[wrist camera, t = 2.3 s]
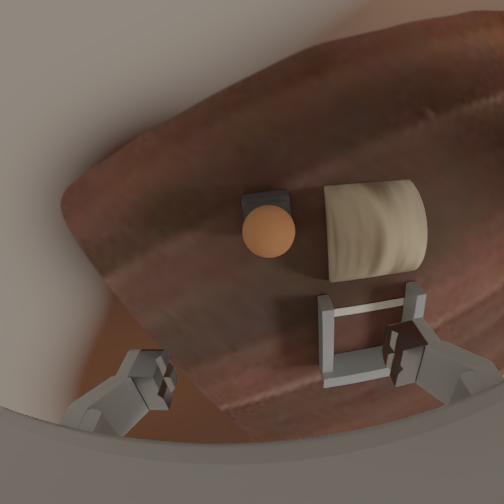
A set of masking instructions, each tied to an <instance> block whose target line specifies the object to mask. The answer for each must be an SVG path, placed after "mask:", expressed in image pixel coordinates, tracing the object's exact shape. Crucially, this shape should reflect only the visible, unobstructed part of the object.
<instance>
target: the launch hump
mask: <svg viewBox="0 0 504 504" xmlns="http://www.w3.org/2000/svg"><path fill="white" fill-rule="evenodd" d="M324 197H325V210H326V225H327V243H328V267H329V281H330V282H331V283H333V282H340V281H347V280H354V279H361V278H368V277H375V276H382V275H388V274H395V273H401V272H407V271H413V270H416V269H417V268H418V267H419V266H420V264H421V263H422V261H423V258H424V255H425V252H426V247H427V219H426V213H425V209H424V205H423V202H422V199H421V197H420V194H419V192H418V190H417V188H416V187H415V185H414V184H413V183H412V182H411V181H410V180H396V181H380V182H366V183H354V184H342V185H331V186H324Z"/></svg>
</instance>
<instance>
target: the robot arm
mask: <svg viewBox="0 0 504 504" xmlns="http://www.w3.org/2000/svg"><path fill="white" fill-rule="evenodd" d="M384 335H385V337H386V340H385V341H384V343H383V347H382V354H383V360H384V363H385V365H386V367H387V368H389V369H391V371H390V377H391V379H392V381H393V383H394V386H395V387H398V386H402V385H406V384H411V383H415V382H416V384H417V385H418V386H420V387H421V388H423V389H424V390H425V391H427V392H428V393H430V394H431V395H432V396H434V397H435V398H437V399H438V400H439V401H441V402H442V403H444V404H445V405H444V406H441V407H439V408H436V409H433V410H430V411H427V412H423V413H420V414H417V415H414V416H410V417H407V418H403V419H399V420H396V421H392V422H388V423H384V424H380V425H376V426H371V427H367V428H362V429H357V430H352V431H347V432H342V433H336V434H330V435H324V436H317V437H310V438H302V439H293V440H283V441H271V442H256V443H229V444H228V443H226V444H225V443H224V444H211V443H180V442H164V441H154V440H144V439H135V438H127V437H123V436H124V435H125V434H126V433H127V432H128V431H129V430H130V429H131V428H132V427H133V426H134V425H135V424H136V423H137V422H138V421H139V420H140V419H141V418H142V417H143V416H144V415H145V414H146V413H147V412H148V411H149V410H169V408H170V405H171V402H172V398H173V397H172V395H171V392H172V391H173V390H174V389H175V388H176V383H177V375H176V370H175V368H174V366H173V365H172V364H171V363H169V360H170V355H169V353H168V351H167V350H165V349H142V350H141V349H131V350H130V351H128V353H127V355H126V357H125V359H124V361H123V363H122V365H121V366H120V368H119V370H118V372H117V374H116V376H112V377H111V378H109V379H107V380H106V381H104V382H103V383H101V384H100V385H98V386H97V387H95V388H94V389H92V390H91V391H90V392H88V393H87V394H85V395H84V396H82V397H81V398H79V399H78V400H76V401H75V402H73V403H72V404H70V406H69V408H68V410H67V411H66V413H65V415H64V417H63V418H62V420H61V422H60V424H55V423H51V422H48V421H44V420H41V419H37V418H34V417H30V416H27V415H24V414H21V413H18V412H15V411H12V410H9V409H7V408H4V407H1V406H0V504H504V378H503V377H502V375H501V374H500V373H499V371H498V370H497V368H496V367H495V366H494V364H493V363H492V362H491V361H489V360H487V359H485V358H482V357H480V356H478V355H476V354H473V353H471V352H469V351H467V350H464V349H462V348H460V347H457V346H455V345H453V344H451V343H448V342H446V341H440V339H439V338H438V337H437V335H436V334H435V332H434V331H433V330H432V328H431V327H430V326H429V324H428V323H427V322H426V320H425V319H424V318H422V317H420V318H416V319H412V320H409V321H404V322H400V323H395V324H390V325H386V327H385V332H384Z"/></svg>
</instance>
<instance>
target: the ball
mask: <svg viewBox="0 0 504 504" xmlns="http://www.w3.org/2000/svg"><path fill="white" fill-rule="evenodd" d="M242 234H243V239H244V242H245V244H246V246H247V247H248V248H249V249H250V251H252V252H253V253H254V254H256V255H258V256H260V257H264V258H273V257H277V256H280V255H282V254H283V253H285V252H286V251H287V250H288V249H289V248H290V247H291V245H292V243H293V241H294V237H295V225H294V222H293V220H292V218H291V217H290V215H289V214H288V213H287V212H286V211H285V210H283V209H282V208H280V207H277V206H274V205H264V206H260V207H258V208H256V209H254V210H253V211H251V212H250V213H249V214H248V216H247V217H246V219H245V221H244V224H243V228H242Z"/></svg>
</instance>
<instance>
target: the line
mask: <svg viewBox="0 0 504 504" xmlns="http://www.w3.org/2000/svg"><path fill="white" fill-rule="evenodd" d="M403 303H404V298H398V299H393V300H387V301H381V302H375V303H369V304H363V305H357V306H350V307H344V308H337V309H334V317H337V316H343V315H350V314H356V313H362V312H368V311H374V310H380V309H386V308H391V307H397V306H402V305H403Z"/></svg>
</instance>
